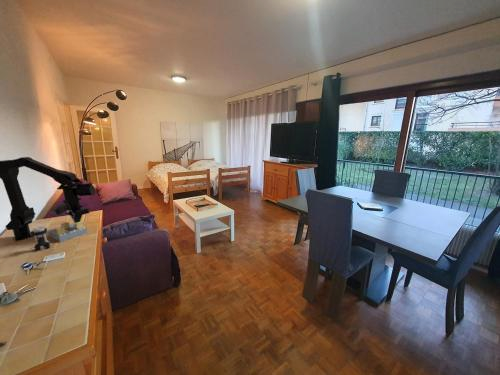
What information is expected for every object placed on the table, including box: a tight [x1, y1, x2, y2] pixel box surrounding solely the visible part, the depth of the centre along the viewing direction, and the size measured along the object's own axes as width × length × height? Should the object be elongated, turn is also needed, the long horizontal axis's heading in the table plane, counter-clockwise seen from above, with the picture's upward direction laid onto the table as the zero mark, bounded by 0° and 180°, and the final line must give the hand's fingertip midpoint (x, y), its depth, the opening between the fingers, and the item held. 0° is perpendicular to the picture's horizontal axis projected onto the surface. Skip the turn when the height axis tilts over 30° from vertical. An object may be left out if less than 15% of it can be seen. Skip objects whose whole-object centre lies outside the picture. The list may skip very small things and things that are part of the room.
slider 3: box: [75, 221, 85, 229], centre depth 112 cm, size 2×3×3 cm
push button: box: [30, 226, 51, 252], centre depth 95 cm, size 7×5×10 cm
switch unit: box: [47, 222, 88, 243], centre depth 111 cm, size 14×12×3 cm
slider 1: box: [54, 226, 65, 235], centre depth 105 cm, size 2×3×3 cm
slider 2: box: [60, 222, 70, 229], centre depth 111 cm, size 2×3×3 cm
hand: (77, 224), depth 113 cm, fingers closed
